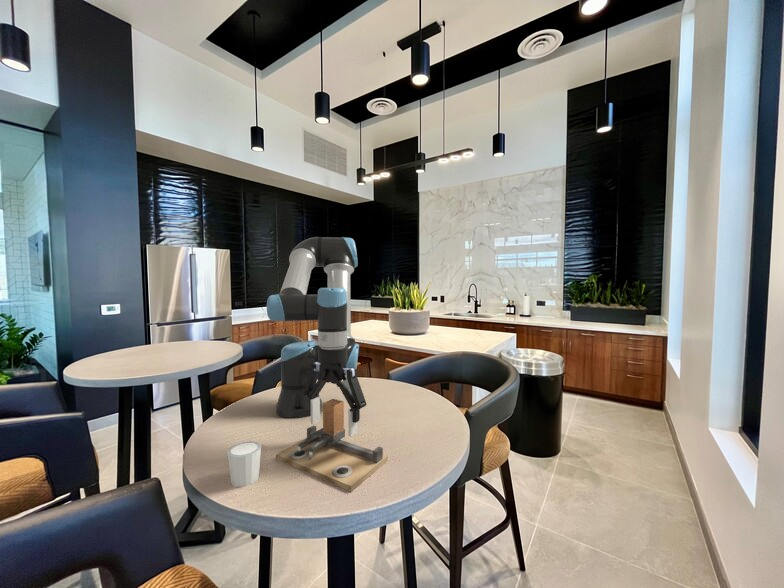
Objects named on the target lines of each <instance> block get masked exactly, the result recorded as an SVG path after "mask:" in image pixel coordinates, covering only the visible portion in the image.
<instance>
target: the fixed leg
mask: <svg viewBox="0 0 784 588" xmlns="http://www.w3.org/2000/svg"><path fill="white" fill-rule="evenodd" d="M322 432H323V427H321V428H320V429H318V430H317V431H316V432H314V433H312V434H311V438H309V439H307V440H305V441H303V442H302V443H300V444H298V454H300V453H301V449H302V448H304V447H306V446H307V445H309V444H311V443H313V442H315V441H316V440H322Z"/></svg>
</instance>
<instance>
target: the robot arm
mask: <svg viewBox="0 0 784 588" xmlns="http://www.w3.org/2000/svg"><path fill="white" fill-rule="evenodd" d="M288 261H289V267H288V268H287V272H286V274H285V277H284V281H283V283H282V287H281V288H280V292H279V293H277V294H271V295H269V296H268V298H267V302H266V314H267V317H268V319H269V321H272V322H283V323H284V322H302V321H306V322H307V321H312V322H313V321H317V340H318V341H317V342H316V341H315V340H303V341H297V342H292V343H289V344H287V345H285V346H283V347H282V349H281V351H280V360H279V361H280V382H281V383H280V384H281V385H280V388H281V389H280V392H279V396H278V399H277V403H276V405H275V413H276V415H278V416H279V417H282V418H287V419H288V418H290V419H291V418H293V419H296V418H297V419H298V418H303V417H309V416H310V424H311V425H314V424H316V423H319V422H321V409H322V399H321V397H320V393H321V391H322V389H324V387H325V385H326V384H328V383H331V384H333V385H336V387H337V388H339V390H340V391H341V393H342V395H343V397H344V398H345V400H346V402H347V404H348V406H349V407H350V408H349V409H348V411H347V413H348V417H347V419H348V422H347V423H348V437H353V436H355V434H358V432H359V430H358V429H359V424H358V423H359V422H360V418H361V416H360V415H361V412H360V410H361V409H363V408H364V407H366V406H367V401H366V398H365V396H364V393H363V390H362V387H361V384H360V381H359V378H358V376H357V375H358V372H357V371H358V370H357V369H358V368H357V367H358V358H359V351H360V350H359V349H360V344H358V343H357V342H356V339H355V337H354V336H353V335H352V333H351V330H352V328H351V326H352V325H351V324H352V323H351V318H352V317H351V316H352V315H351V314H352V313H351V275H352V274H353V273H354V271H355V269H356V268H357V267H358V264H359V262H358V254H357V247H356V242H355V240H354V239H353V238H351V237H344V236H342V237H335V236H334V237H330V236H329V237H328V236H327V237H326V236H325V237H324V236H323V237H321V236H314V237H309V238H306V239H304V240H302V241H301V242H299V243H298V244H297V245H296V246H295V247H294V248H293V249H292V250H291V251H290V254H289V259H288ZM316 267H317V268H323V271H324V273H326V275H327V287H320V288H319V289H318V290H317V294H307V292H308V286H309V282H310V279H311V274H312V270H313V269H314V268H316Z"/></svg>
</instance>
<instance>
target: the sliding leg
mask: <svg viewBox="0 0 784 588" xmlns="http://www.w3.org/2000/svg"><path fill="white" fill-rule="evenodd" d="M344 405H345V403H344V401H343V400H339V399H336V398H332V399H329V400H327V401H324V402H322V428H323V432H322V440H321V441H319V442H317V443H316V444H314V445H312V446H311V447H309V458H313V452H314V451H316V450H317V449H319V448H321V447H322V446H324V445H326V444H327V443H329V442H330V443H333V444H334V443H335V442H337V441H339V440H342V439H344V438H345V437H346V430H345V419H344V418H345V408H344Z"/></svg>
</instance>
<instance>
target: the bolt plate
mask: <svg viewBox="0 0 784 588" xmlns="http://www.w3.org/2000/svg"><path fill="white" fill-rule="evenodd" d="M316 431H318V430H317V426H316V425H314V424H312V425H311V426H310V427H309V426H308V428H306V437H305V438H304V439H302V440H300V441H298V442H296V443H294V444H293V445H290V446H289V447H287V448H285V449H284V450H283V449H282V451H279V452H278V453H276V455H275V457H276V460H277V461H280V462H282V463H285V464H287V465H289V466H291V467H293V468H295V469H298V470H300V471H302V472H305V473H308V474H310V475H312V476H314V477H317V478H319V479H321V480H323V481H325V482H328V483H330V484H332V485H335V486H337V487H339V488H341V489H344V490H346V491H348V492H351V493H352V492H353V491H355V490H356V489H357V488H358V487H359V486H360V485H362V483H363V482H365V481H366V480H367V479H368V478H369V477H370V476H372V475H373V474H374V473H375V472H376V471H378V470H379V469H380V468H381V467H382V466H383V465H385V464H386V463H387V462H388V461H389V456H388V455H387V454H385V453H384V452H383V450H384V449H383V447H381V446H377V447H376V448H375V449H373V450H372V449H369V448H367V447H364V446H360V445H357V444H356V443H351V442H349V441H346V440H342V439H340V440H339V441H337V442H335V443H334V444H333V443H330V442H329V443H327V444H326V445H324V446H322V447H321V448H319V449H317V450H316V451H314V452H313V458H309V447H311V446H312V445H314V444H316V443H317V442H319V441H321V440H316V441H315V442H313V443H311V444H309V445H307V446H306V447H304V448H302V449H301V453H300V454H298V444H300V443H302V442H303V441H305V440H307V439H309V438H311V434H312V433H314V432H316Z"/></svg>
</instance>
